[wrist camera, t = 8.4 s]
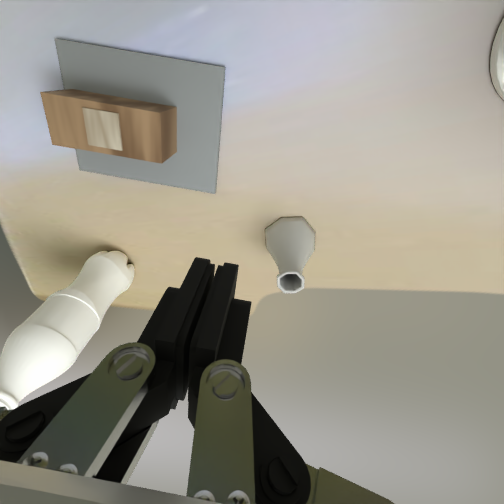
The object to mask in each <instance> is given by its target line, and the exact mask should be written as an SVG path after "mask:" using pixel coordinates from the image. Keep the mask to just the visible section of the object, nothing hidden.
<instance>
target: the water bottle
mask: <svg viewBox="0 0 504 504" xmlns="http://www.w3.org/2000/svg"><path fill="white" fill-rule="evenodd" d="M126 264H127V256H126V255H125V254H124V253H122V252H120V251H110V252H107V251H100V252H98V253H96V254H94V255H92V256H91V257H90V258H89V259H88V260H87V261H86V262H85V263H84V265H83V268H82V269H81V271H80V273H79V275H78V276H77V277H76V279H75V280H74V281H73V282H72V283H71V284H70V285H69V286H68V287H66V288H65V289H62V290H59V291H57V292H55V293H53V294H51V295H50V296H49V297H48V298H47V299H46V301H45V302H44V303H43V304H42V305H41V306H40V307H39V308H38V309H37V310H36V311H35V312H34V313H33V314H32V315H31V316H30V317H29V318H28V319H27V320H26V321H24V322H23V323H22V324H21V325H20V326H18V327H16V329H15V330H14V331H13V332H12V333H11V334H10V336H9V337H8V339H7V341H6V343H5V345H4V347H3V351H2V353H1V356H0V407H4V406H6V408H7V410H12V409H15V408H17V407H18V403H19V402H20V401H21V400H22V399H23V398H24V397H25V396H26V395H28V394H29V393H31V392H32V391H34V390H35V389H37V388H39V387H41V386H43V385H44V384H46V383H48V382H50V381H52V380H53V379H55V378H57V377H58V376H60V375H61V374H63V373H64V372H65V371H66V370H68V369H69V368H70V367H71V366H72V365H73V363H74V362H75V361H76V359H77V356H78V355H79V354H80V352H81V351H82V350H83V348H84V347H85V345H86V344H87V343H88V341H89V340H90V339H91V337H92V336H93V335H94V333H95V332H96V331H97V330H98V328H99V326H100V323H101V321H102V319H103V316H104V314H105V313H106V311H107V309H108V308H109V306H110V305H111V303H112V302H113V301H114V300H115V298H116V297H117V296H118V295H120V294H121V293H122V292H124V291H126V290H127V289H128V288H129V287H130V285H131V283H132V281H133V278H134V272H135V271H134V266H133V264H128V265H126Z"/></svg>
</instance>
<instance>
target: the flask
mask: <svg viewBox="0 0 504 504" xmlns="http://www.w3.org/2000/svg"><path fill="white" fill-rule="evenodd" d="M265 237H266V248H267V249H268V251H269V253H270V254H271V256H272V257H273V259H274V261H275V263H276V264H277V266H278V269H279V274H278V275H277V287H278V288H279V289H280V290H281V291H282V292H283V293H297V292H298V291H300V290H302V289H304V277H303V275H302V271H303V268H304V266H305V264H306V263H307V261H308V259H309V258H310V256H311V255H312V253H313V252H314V250H315V231H314V230H313V229H312V227H311V226H310V225H309V224H308V223H307V221H306V220H305V219H304V218H303V217H291V218H280V219H279V220H277V221H276V222H275V223H273V224H272V225H271V226H269V227H268V228H266V229H265Z"/></svg>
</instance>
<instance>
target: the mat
mask: <svg viewBox="0 0 504 504" xmlns="http://www.w3.org/2000/svg"><path fill="white" fill-rule="evenodd" d="M55 43H56V49H57V54H58V59H59V64H60V70H61V75H62V80H63V85H64V90H67V89H75V90H81V91H87V92H93V93H99V94H104V95H110V96H116V97H122V98H128V99H133V100H139V101H145V102H151V103H157V104H162V105H168V106H174V107H177V152H176V153H175V154H174V155H172V156H171V157H170V158H169V159H167V160H166V161H165V162H163V163H162V164H161V163H155V162H149V161H144V160H138V159H132V158H126V157H121V156H115V155H109V154H104V153H98V152H92V151H86V150H81V149H76V154H77V159H78V164H79V169H80V170H82V171H87V172H93V173H99V174H104V175H110V176H116V177H121V178H127V179H133V180H139V181H144V182H150V183H156V184H161V185H167V186H173V187H178V188H184V189H190V190H196V191H201V192H207V193H213V194H215V193H216V185H217V171H218V158H219V145H220V132H221V119H222V106H223V93H224V80H225V67H221V66H215V65H209V64H203V63H197V62H191V61H185V60H180V59H174V58H168V57H162V56H156V55H150V54H144V53H138V52H133V51H127V50H121V49H115V48H109V47H103V46H97V45H91V44H86V43H80V42H74V41H68V40H62V39H55Z"/></svg>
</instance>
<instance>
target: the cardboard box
mask: <svg viewBox="0 0 504 504" xmlns="http://www.w3.org/2000/svg"><path fill="white" fill-rule="evenodd" d="M40 93H41V97H42V102H43V106H44V110H45V115H46V119H47V123H48V128H49V132H50V136H51V140H52V145H58V146H63V147H69V148H75V149H81V150H86V151H92V152H98V153H104V154H109V155H115V156H121V157H126V158H132V159H138V160H144V161H149V162H155V163H161V164H162V163H163V162H165V161H166V160H167V159H169V158H170V157H171V156H172V155H174V154H175V153H176V152H177V107H174V106H168V105H162V104H157V103H151V102H145V101H139V100H133V99H128V98H122V97H116V96H110V95H104V94H99V93H93V92H87V91H81V90H75V89H67V90H57V91H47V92H40Z"/></svg>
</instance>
